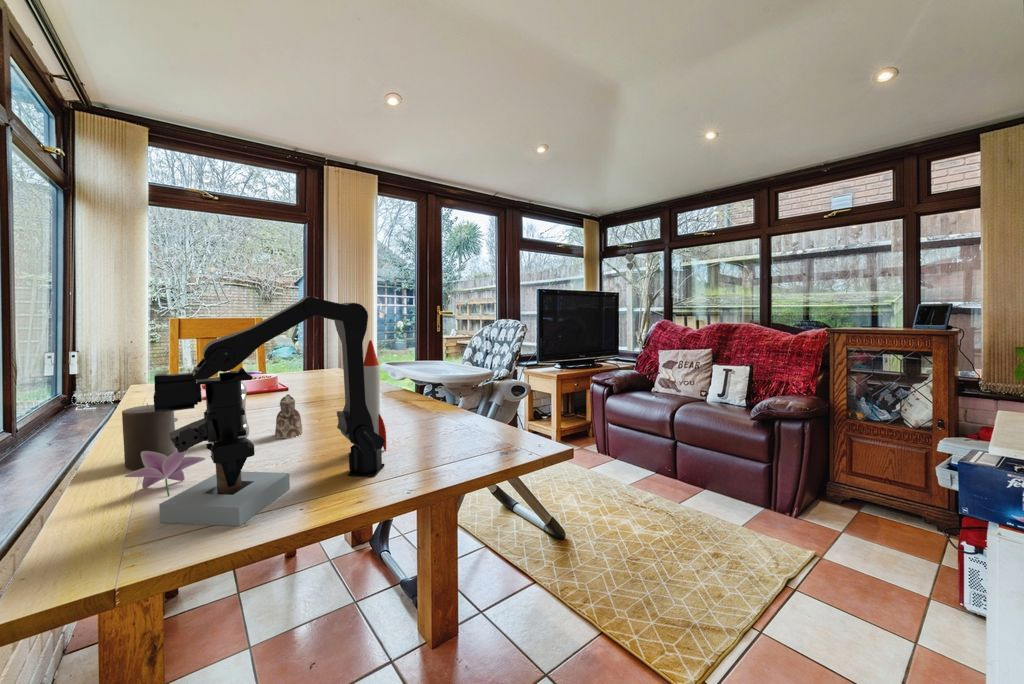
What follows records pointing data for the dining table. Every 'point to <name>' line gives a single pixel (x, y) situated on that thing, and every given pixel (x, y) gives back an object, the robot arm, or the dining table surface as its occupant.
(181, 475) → the lily
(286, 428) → the figurine
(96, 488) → the dining table surface
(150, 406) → the pillar candle
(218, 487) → the walnut peg
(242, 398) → the plastic bottle
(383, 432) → the toy rocket
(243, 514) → the socket block
